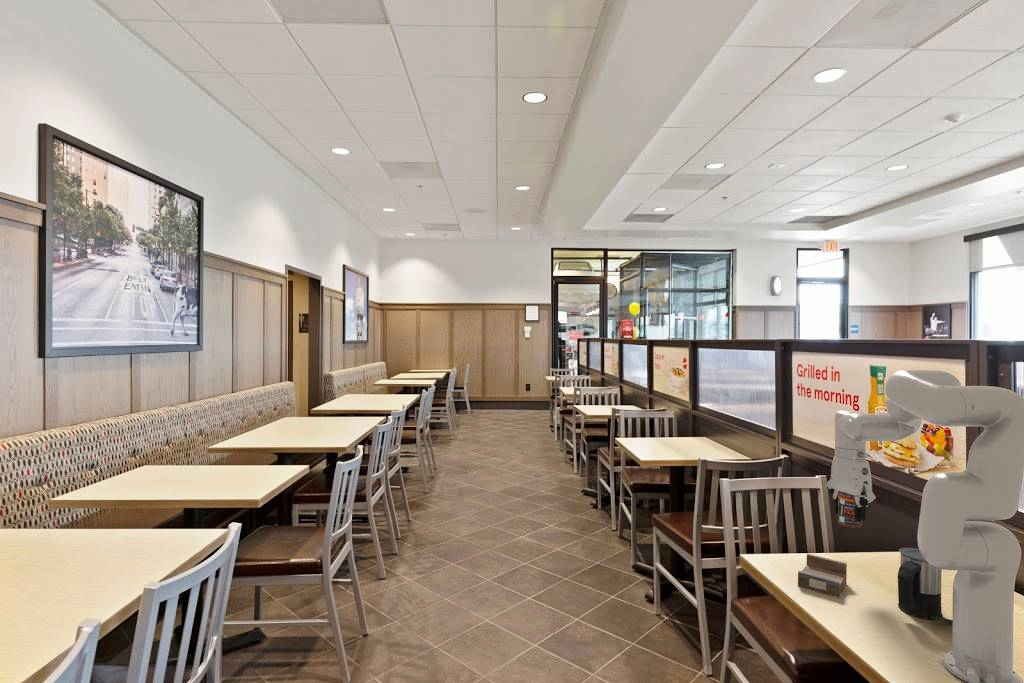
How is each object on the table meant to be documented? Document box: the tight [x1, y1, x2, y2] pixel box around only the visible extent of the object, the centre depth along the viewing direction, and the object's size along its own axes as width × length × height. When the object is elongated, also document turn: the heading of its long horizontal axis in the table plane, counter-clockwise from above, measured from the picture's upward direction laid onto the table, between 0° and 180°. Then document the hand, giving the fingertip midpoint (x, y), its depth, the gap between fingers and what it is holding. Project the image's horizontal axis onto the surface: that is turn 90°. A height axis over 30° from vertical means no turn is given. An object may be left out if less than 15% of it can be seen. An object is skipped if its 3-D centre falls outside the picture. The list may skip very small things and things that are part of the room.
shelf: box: [797, 553, 848, 598], centre depth 152 cm, size 12×10×6 cm
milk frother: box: [897, 547, 952, 625], centre depth 134 cm, size 14×16×15 cm
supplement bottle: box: [837, 492, 863, 529], centre depth 153 cm, size 6×6×11 cm
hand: (849, 516), depth 153 cm, fingers closed on supplement bottle, 5 cm apart
